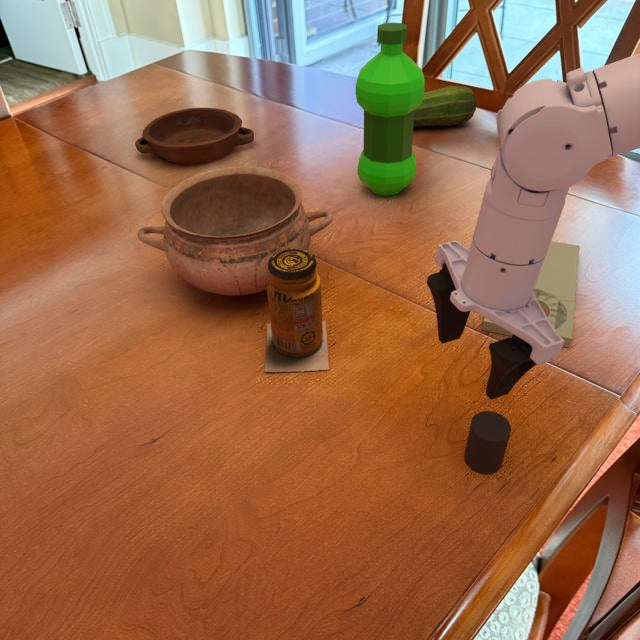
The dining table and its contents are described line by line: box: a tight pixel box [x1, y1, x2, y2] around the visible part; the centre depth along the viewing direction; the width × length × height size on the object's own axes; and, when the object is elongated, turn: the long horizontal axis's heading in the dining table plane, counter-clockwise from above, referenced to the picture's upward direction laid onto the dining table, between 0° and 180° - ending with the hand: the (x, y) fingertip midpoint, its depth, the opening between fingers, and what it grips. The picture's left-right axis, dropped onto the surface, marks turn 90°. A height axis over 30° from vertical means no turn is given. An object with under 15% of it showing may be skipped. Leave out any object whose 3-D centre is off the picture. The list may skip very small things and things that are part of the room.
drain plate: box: [481, 240, 581, 348], centre depth 77 cm, size 20×10×2 cm, turn 160°
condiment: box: [264, 248, 330, 373], centre depth 67 cm, size 7×8×12 cm
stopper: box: [464, 410, 512, 475], centre depth 57 cm, size 4×4×5 cm
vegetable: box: [413, 85, 478, 128], centre depth 116 cm, size 7×7×20 cm
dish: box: [134, 107, 255, 164], centre depth 112 cm, size 17×22×5 cm
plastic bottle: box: [355, 22, 426, 197], centre depth 92 cm, size 10×10×25 cm
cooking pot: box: [137, 166, 334, 297], centre depth 78 cm, size 25×19×12 cm
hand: (472, 365), depth 56 cm, fingers open, 7 cm apart
